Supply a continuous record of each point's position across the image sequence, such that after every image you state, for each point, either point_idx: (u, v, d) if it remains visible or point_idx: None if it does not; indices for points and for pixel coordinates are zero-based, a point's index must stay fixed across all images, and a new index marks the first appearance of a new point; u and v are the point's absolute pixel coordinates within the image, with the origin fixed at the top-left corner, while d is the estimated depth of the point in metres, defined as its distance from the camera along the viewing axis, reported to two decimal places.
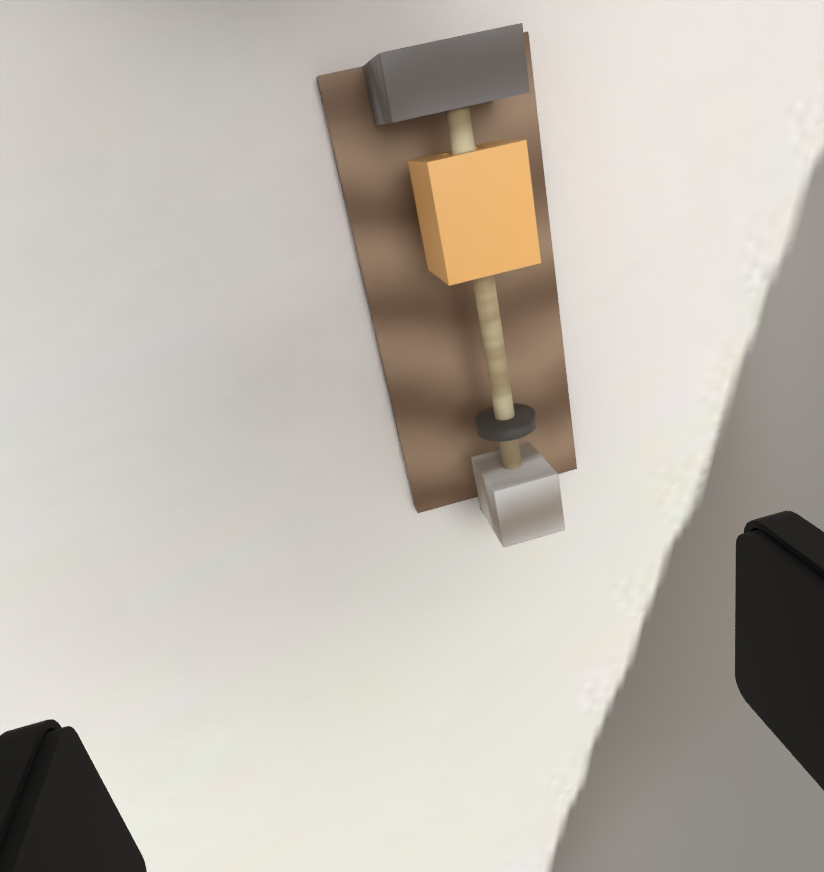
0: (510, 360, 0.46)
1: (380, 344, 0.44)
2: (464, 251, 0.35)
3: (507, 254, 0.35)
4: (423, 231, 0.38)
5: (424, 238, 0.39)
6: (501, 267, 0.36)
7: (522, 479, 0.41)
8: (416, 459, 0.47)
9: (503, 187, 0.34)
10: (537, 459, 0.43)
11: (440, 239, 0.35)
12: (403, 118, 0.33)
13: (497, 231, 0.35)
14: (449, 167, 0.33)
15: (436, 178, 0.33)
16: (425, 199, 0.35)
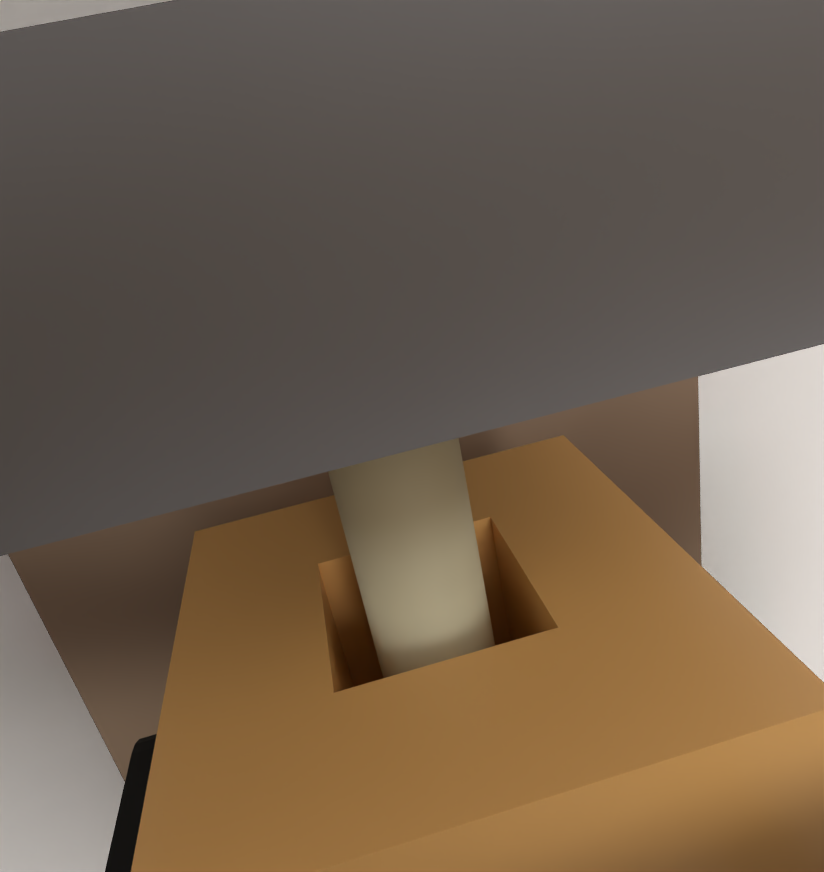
0: None
1: None
2: None
3: None
4: None
5: None
6: None
7: None
8: None
9: None
10: None
11: None
12: None
13: None
14: None
15: None
16: None
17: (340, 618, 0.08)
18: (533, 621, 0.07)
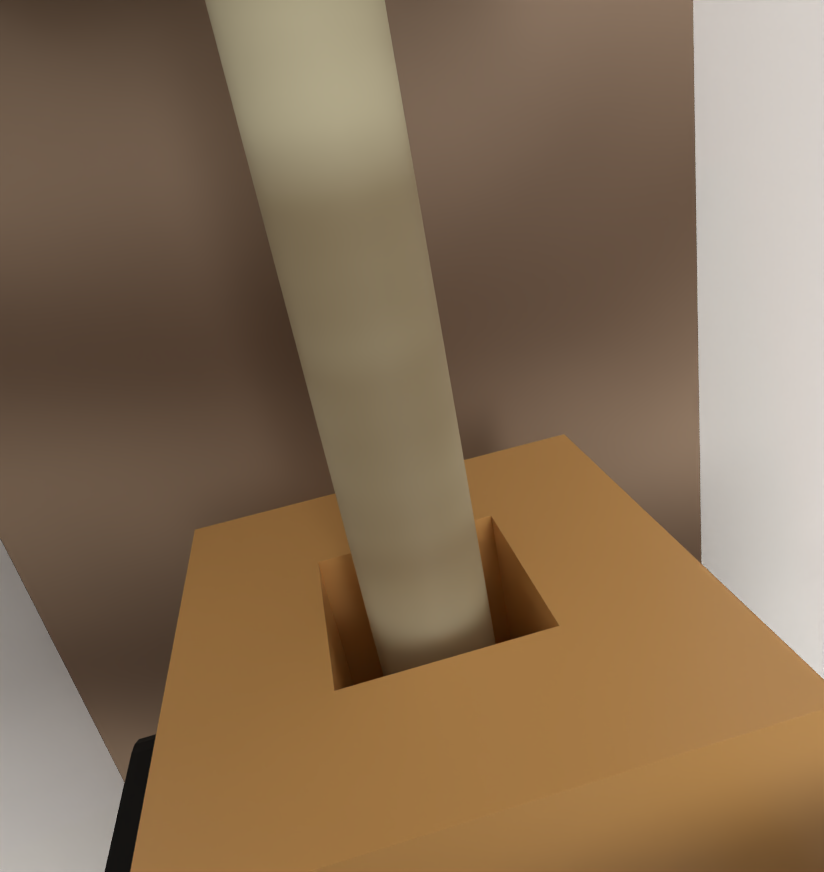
0: None
1: (119, 763, 0.13)
2: None
3: None
4: None
5: None
6: None
7: None
8: None
9: None
10: None
11: None
12: None
13: None
14: None
15: None
16: None
17: (341, 617, 0.08)
18: (534, 620, 0.07)
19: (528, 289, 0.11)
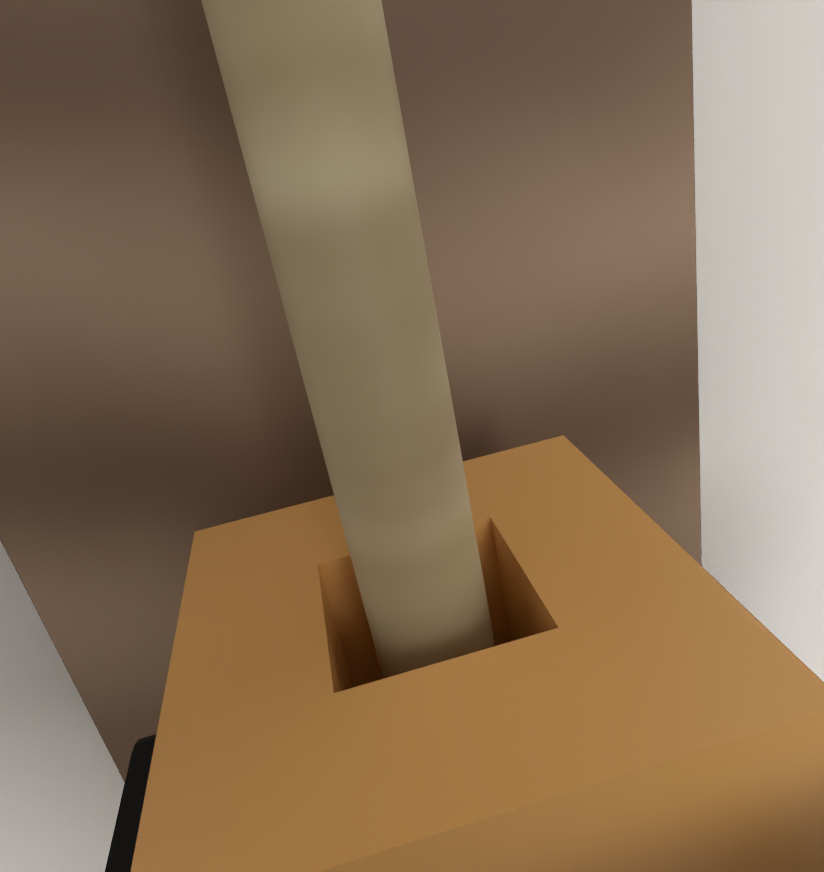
0: None
1: (37, 601, 0.11)
2: None
3: None
4: None
5: None
6: None
7: None
8: None
9: None
10: None
11: None
12: None
13: None
14: None
15: None
16: None
17: (340, 619, 0.08)
18: (533, 621, 0.07)
19: (495, 14, 0.10)
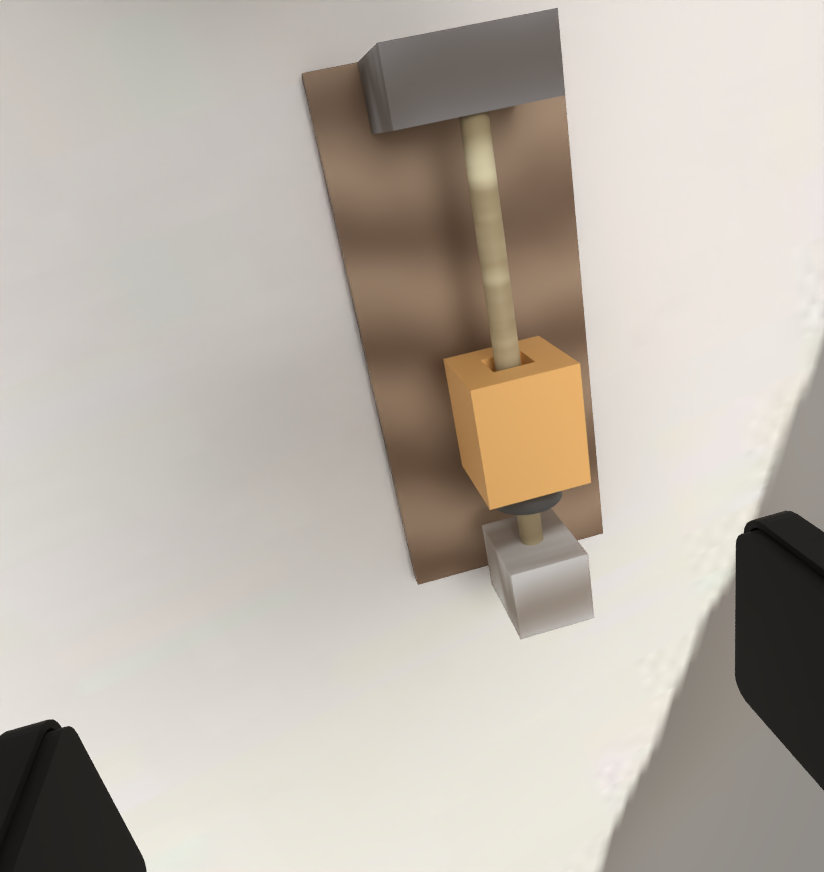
0: None
1: (376, 392, 0.37)
2: (508, 475, 0.32)
3: (554, 476, 0.32)
4: (459, 432, 0.35)
5: (459, 438, 0.35)
6: (547, 489, 0.32)
7: (544, 559, 0.34)
8: (417, 524, 0.40)
9: (553, 411, 0.31)
10: (562, 532, 0.36)
11: (482, 464, 0.31)
12: (406, 125, 0.27)
13: (544, 454, 0.31)
14: (494, 394, 0.30)
15: (480, 406, 0.30)
16: (464, 413, 0.32)
17: None
18: None
19: (520, 220, 0.35)
